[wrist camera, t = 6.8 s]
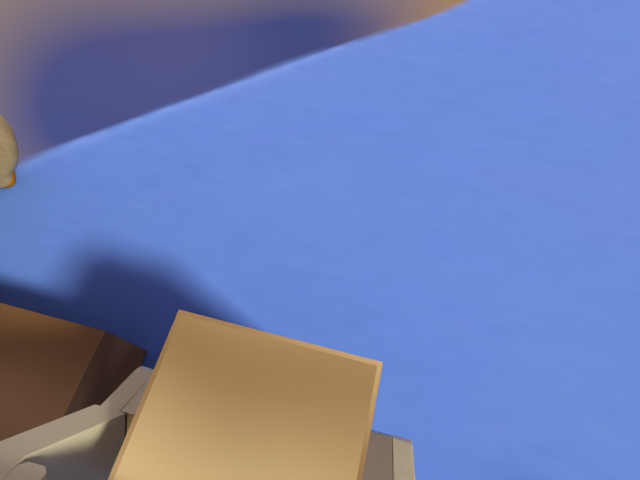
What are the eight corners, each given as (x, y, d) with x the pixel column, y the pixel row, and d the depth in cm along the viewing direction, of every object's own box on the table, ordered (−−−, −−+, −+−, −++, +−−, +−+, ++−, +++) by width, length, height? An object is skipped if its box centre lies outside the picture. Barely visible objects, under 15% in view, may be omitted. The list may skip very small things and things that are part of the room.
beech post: (321, 520, 15) (332, 647, 6) (209, 486, 16) (73, 561, 7) (346, 397, 17) (382, 362, 8) (246, 370, 18) (179, 309, 9)
